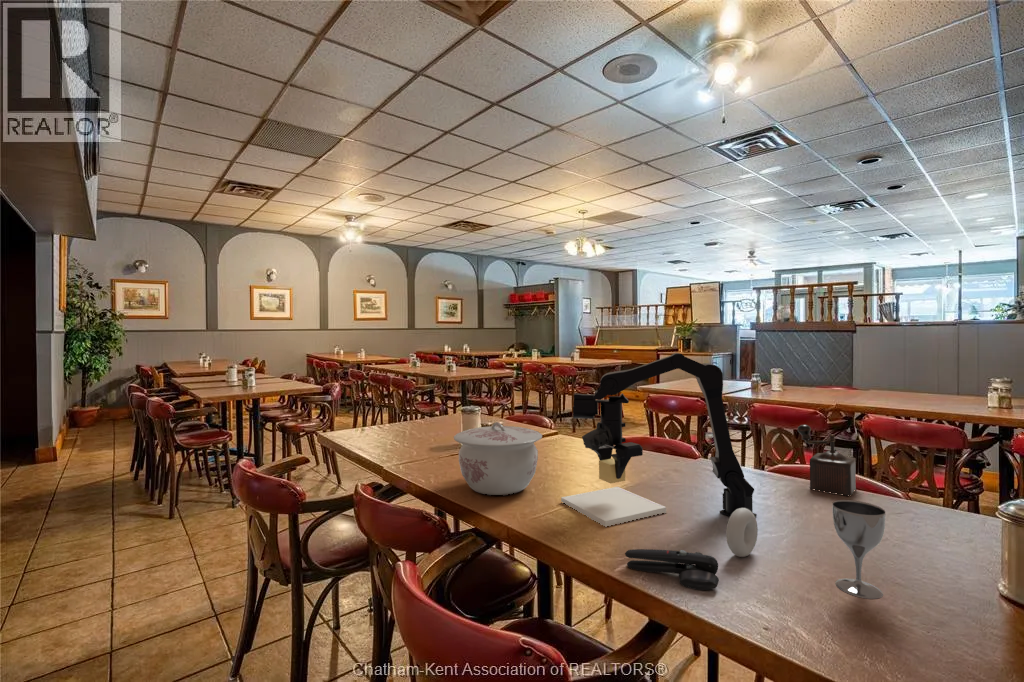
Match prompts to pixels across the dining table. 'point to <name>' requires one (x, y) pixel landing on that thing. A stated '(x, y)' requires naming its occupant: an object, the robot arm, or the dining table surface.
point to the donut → (742, 532)
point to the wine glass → (859, 540)
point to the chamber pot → (498, 458)
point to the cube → (609, 471)
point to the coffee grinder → (830, 468)
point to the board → (613, 506)
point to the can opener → (678, 566)
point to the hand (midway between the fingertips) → (612, 476)
